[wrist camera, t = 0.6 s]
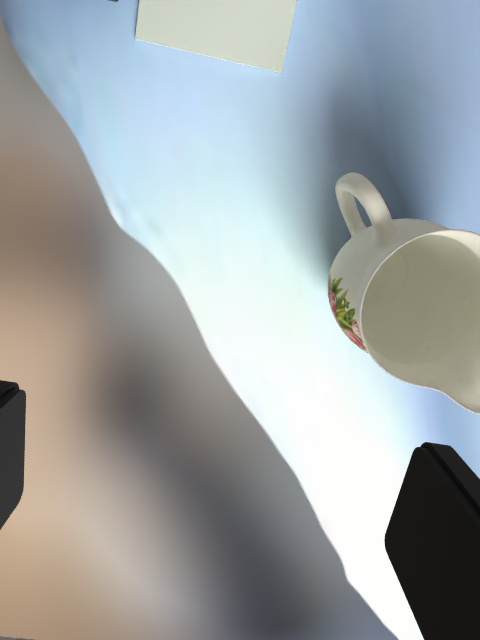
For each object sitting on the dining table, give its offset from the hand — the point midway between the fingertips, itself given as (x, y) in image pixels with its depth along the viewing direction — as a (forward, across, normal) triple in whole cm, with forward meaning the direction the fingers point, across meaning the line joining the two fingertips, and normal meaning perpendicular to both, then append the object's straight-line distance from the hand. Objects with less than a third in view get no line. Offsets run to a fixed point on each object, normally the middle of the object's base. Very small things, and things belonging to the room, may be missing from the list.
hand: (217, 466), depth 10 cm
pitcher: (+30, -13, -2) cm, 33 cm away
